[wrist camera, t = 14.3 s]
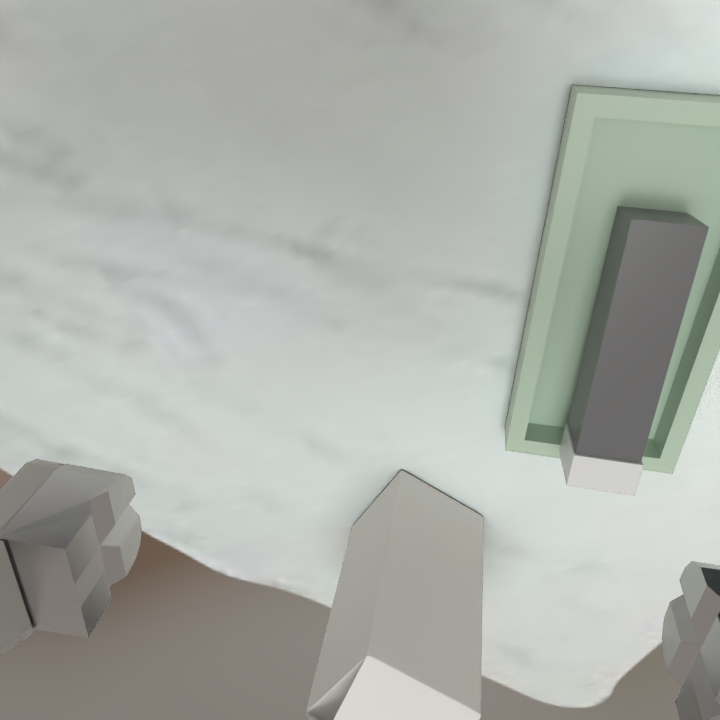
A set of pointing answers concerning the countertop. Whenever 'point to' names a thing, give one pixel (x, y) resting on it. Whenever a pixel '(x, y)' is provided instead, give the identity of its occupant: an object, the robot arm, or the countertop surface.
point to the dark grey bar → (630, 346)
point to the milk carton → (405, 613)
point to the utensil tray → (589, 248)
